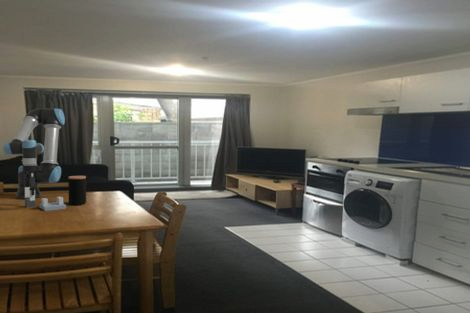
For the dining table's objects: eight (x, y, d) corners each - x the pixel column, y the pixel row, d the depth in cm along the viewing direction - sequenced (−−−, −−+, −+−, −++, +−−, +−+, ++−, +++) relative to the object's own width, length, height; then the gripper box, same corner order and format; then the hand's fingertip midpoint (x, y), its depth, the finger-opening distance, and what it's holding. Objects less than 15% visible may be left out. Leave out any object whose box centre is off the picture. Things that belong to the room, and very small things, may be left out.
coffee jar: (89, 202, 247) (89, 176, 246) (81, 206, 237) (80, 178, 236) (74, 202, 248) (73, 175, 247) (65, 205, 238) (65, 177, 237)
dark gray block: (25, 206, 232) (25, 198, 231) (34, 205, 235) (33, 198, 235) (26, 207, 229) (26, 199, 228) (35, 206, 232) (35, 198, 232)
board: (39, 206, 231) (38, 197, 231) (59, 204, 239) (59, 195, 239) (44, 210, 221) (44, 201, 220) (66, 208, 229) (66, 198, 228)
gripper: (18, 163, 237) (18, 196, 238) (27, 166, 218) (27, 202, 219) (31, 163, 242) (31, 195, 243) (41, 166, 223) (41, 201, 224)
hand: (29, 198), depth 231 cm, fingers open, 13 cm apart
